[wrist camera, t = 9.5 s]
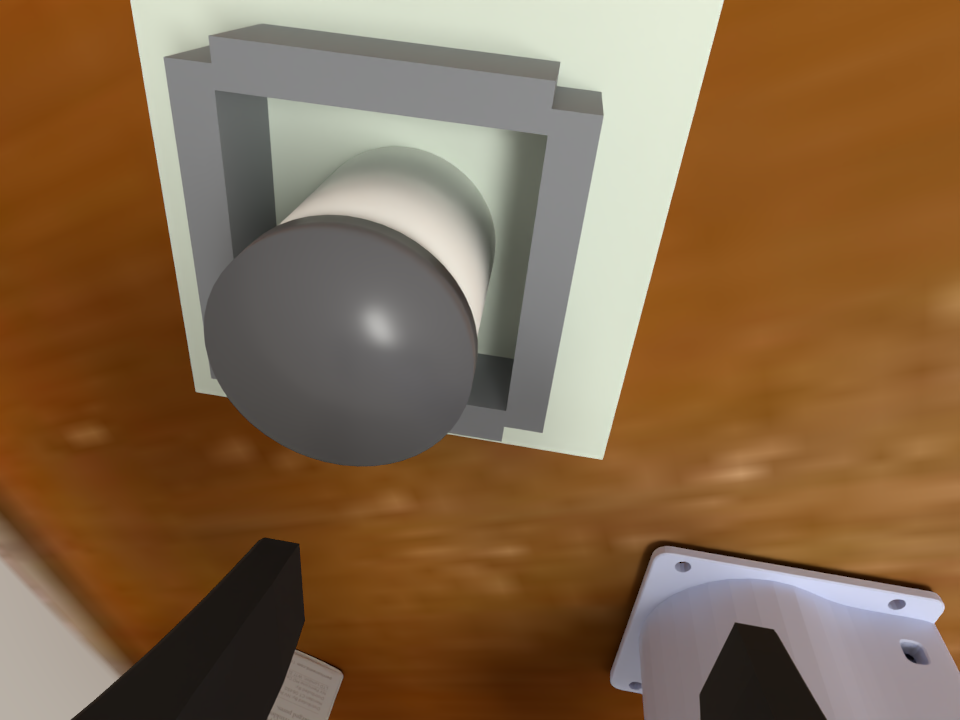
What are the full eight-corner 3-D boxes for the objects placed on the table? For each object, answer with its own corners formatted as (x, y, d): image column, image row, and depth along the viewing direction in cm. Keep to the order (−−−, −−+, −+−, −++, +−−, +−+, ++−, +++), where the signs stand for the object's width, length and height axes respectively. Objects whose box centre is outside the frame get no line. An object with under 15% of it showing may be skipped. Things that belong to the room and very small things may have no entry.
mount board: (726, -33, 14) (760, -29, 11) (602, 447, 21) (604, 519, 18) (129, -103, 14) (28, -115, 12) (205, 381, 21) (151, 441, 19)
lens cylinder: (521, 170, 16) (501, 272, 11) (477, 343, 18) (445, 490, 13) (317, 119, 16) (201, 198, 11) (303, 301, 18) (205, 433, 13)
